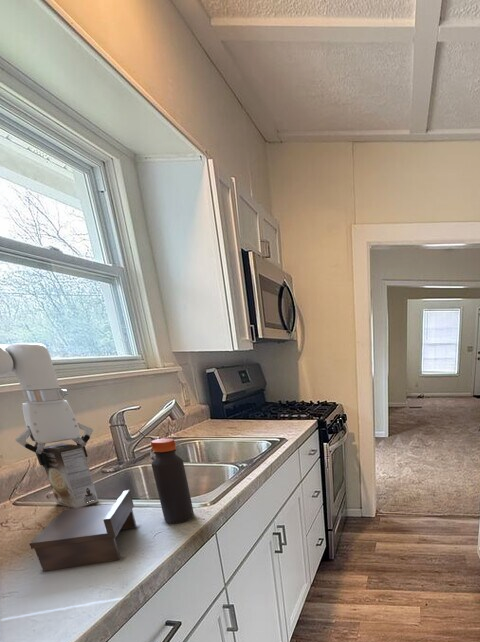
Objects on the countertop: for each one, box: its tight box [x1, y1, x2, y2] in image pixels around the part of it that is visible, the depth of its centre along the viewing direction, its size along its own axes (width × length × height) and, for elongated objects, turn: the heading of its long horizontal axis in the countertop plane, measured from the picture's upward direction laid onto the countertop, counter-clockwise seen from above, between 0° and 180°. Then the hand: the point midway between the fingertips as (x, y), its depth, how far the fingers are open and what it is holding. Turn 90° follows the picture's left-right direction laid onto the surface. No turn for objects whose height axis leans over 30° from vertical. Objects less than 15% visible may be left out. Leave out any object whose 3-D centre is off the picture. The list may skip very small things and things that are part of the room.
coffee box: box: [43, 442, 99, 509], centre depth 109 cm, size 9×6×16 cm
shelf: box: [29, 489, 137, 572], centre depth 86 cm, size 14×18×9 cm
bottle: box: [150, 437, 195, 524], centre depth 98 cm, size 7×7×20 cm
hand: (65, 463), depth 107 cm, fingers open, 7 cm apart
